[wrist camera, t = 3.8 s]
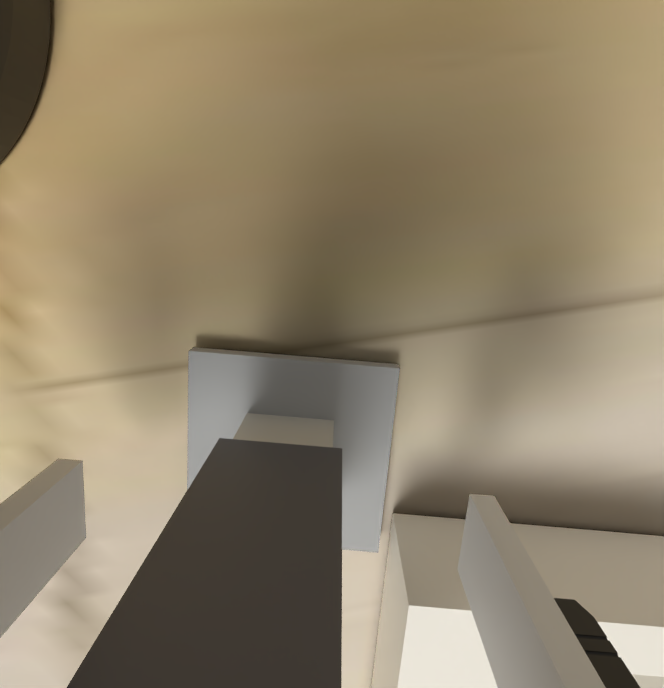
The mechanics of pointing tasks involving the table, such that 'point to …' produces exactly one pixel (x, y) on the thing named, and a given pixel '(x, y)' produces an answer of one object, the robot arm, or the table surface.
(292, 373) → the mat
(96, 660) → the grey tall block
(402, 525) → the socket block
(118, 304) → the table surface
